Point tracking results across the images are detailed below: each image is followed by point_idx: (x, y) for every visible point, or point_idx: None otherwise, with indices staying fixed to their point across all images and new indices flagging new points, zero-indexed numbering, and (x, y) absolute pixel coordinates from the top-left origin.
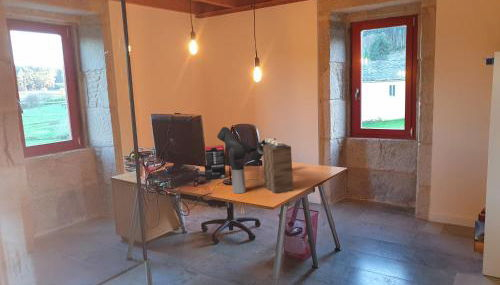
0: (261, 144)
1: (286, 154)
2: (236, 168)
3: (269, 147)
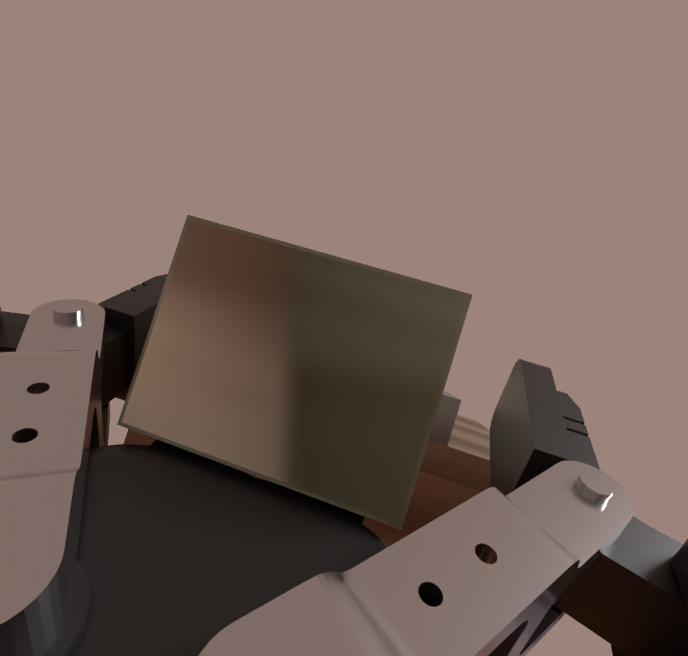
0: (580, 608)
1: None
2: None
3: (483, 430)
